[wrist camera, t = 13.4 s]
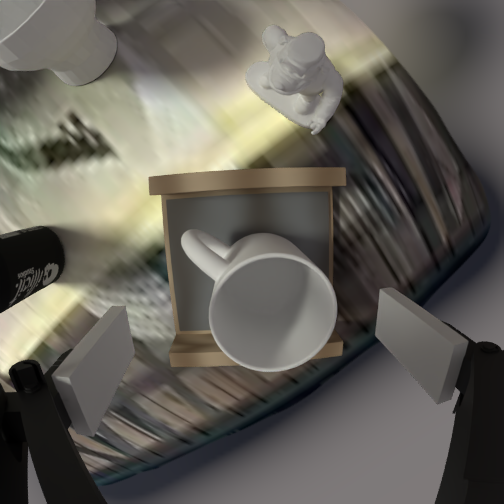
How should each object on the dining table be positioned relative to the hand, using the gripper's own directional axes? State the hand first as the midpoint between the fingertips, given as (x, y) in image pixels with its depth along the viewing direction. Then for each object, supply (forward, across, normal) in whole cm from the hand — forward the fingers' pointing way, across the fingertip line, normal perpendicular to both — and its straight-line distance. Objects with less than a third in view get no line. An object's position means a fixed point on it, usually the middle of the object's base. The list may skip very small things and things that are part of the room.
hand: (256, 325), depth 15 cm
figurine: (+16, +5, +15) cm, 23 cm away
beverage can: (+16, -22, +1) cm, 28 cm away
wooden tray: (+16, +1, -1) cm, 16 cm away
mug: (+14, 0, 0) cm, 15 cm away
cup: (+17, -16, +23) cm, 33 cm away
